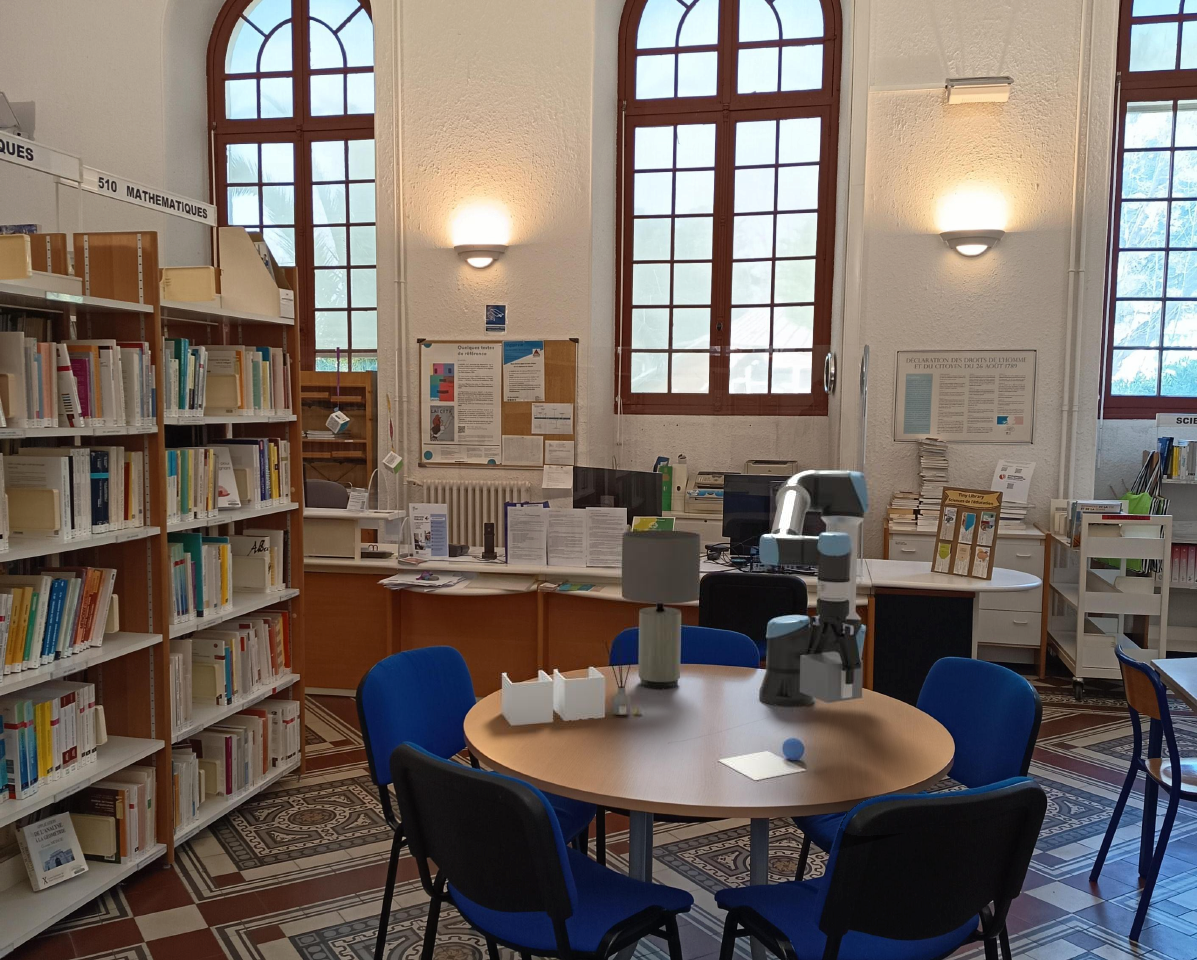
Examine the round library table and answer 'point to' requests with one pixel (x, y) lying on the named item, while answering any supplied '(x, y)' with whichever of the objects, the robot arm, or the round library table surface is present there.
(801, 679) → the block
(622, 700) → the reed diffuser
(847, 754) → the round library table surface
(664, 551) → the lamp
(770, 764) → the white flat square plate
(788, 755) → the ball
